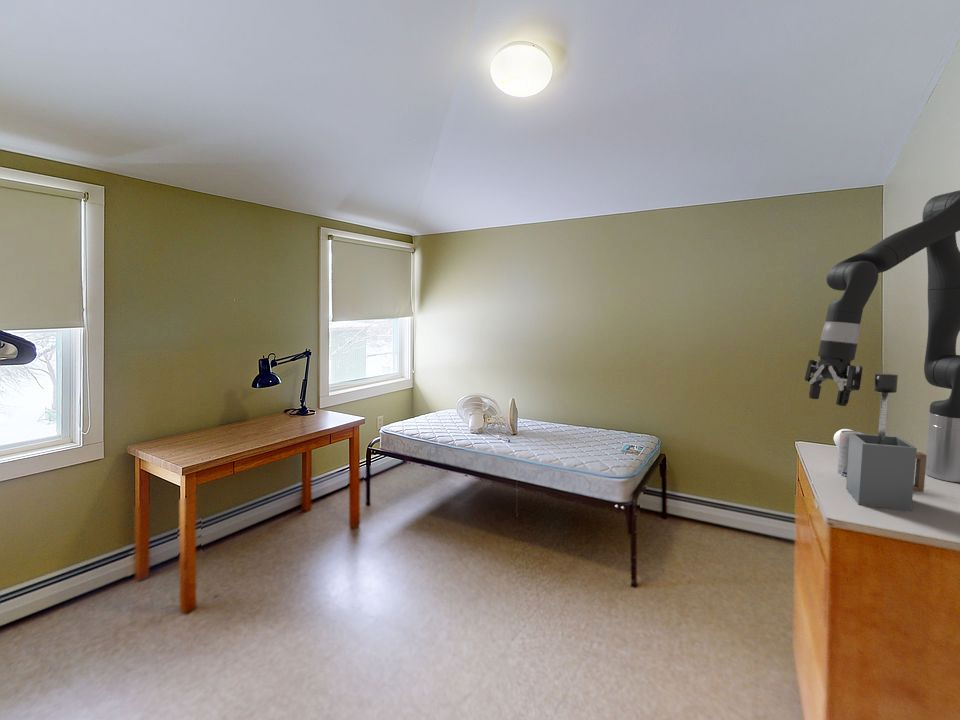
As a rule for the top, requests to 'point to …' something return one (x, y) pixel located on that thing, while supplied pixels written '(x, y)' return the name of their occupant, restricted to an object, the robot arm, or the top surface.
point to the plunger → (884, 398)
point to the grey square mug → (884, 471)
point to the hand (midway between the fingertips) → (826, 402)
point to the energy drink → (844, 451)
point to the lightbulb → (837, 436)
